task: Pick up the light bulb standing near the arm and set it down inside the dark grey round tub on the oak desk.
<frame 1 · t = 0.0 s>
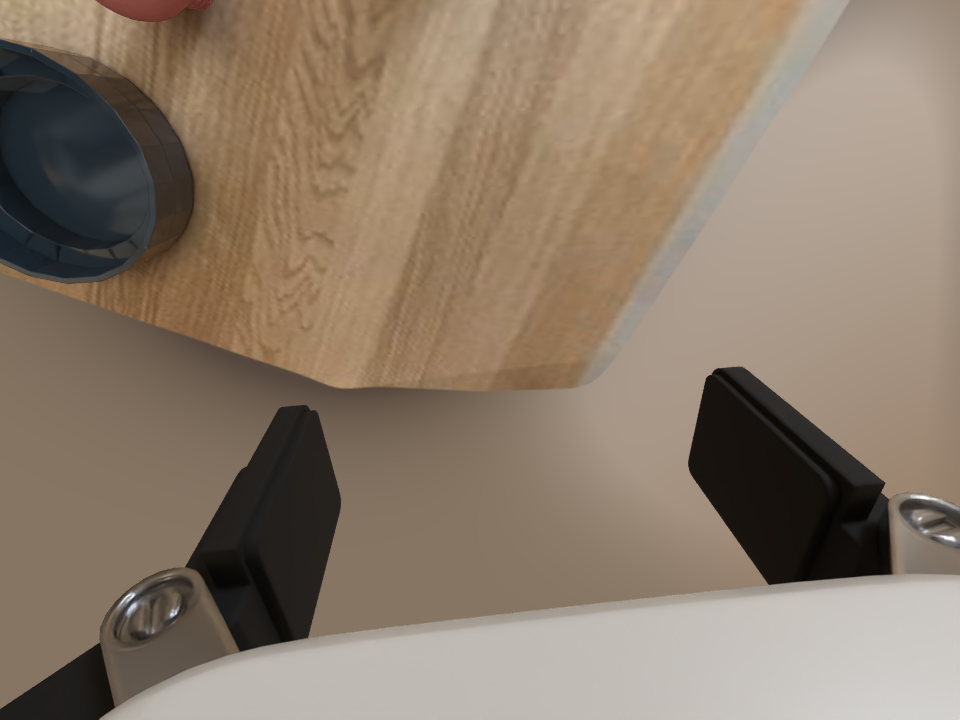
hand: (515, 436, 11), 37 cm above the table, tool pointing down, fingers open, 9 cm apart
dark grey round tub: (90, 166, 40), on the table
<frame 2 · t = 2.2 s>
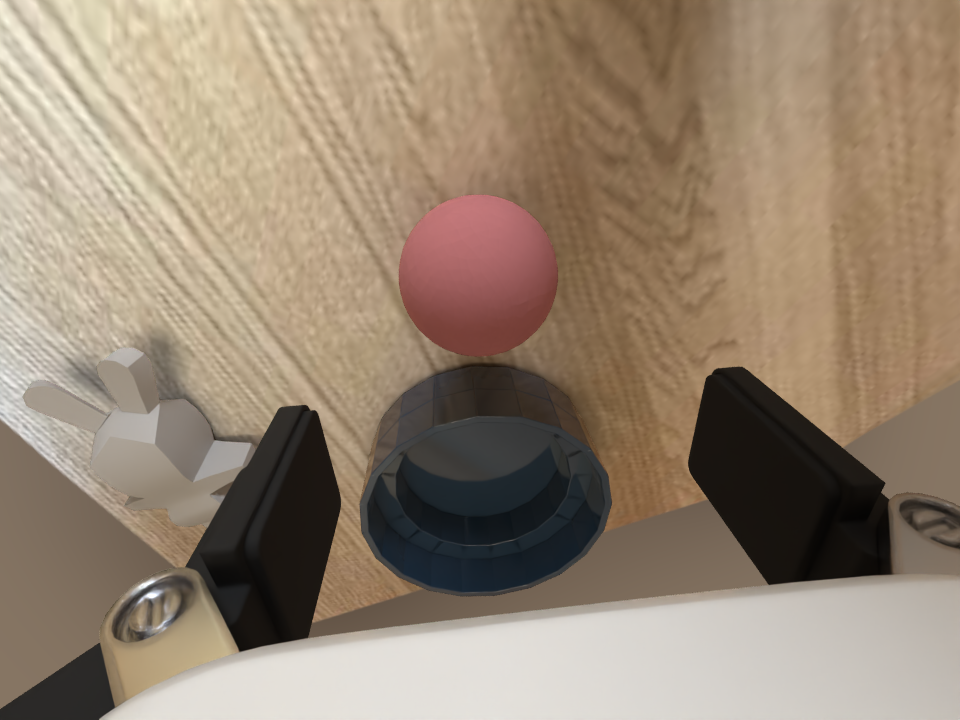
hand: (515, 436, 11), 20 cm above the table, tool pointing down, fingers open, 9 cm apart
bunny figurine: (182, 427, 33), on the table
dark grey round tub: (480, 454, 36), on the table
light bulb: (468, 232, 28), on the table
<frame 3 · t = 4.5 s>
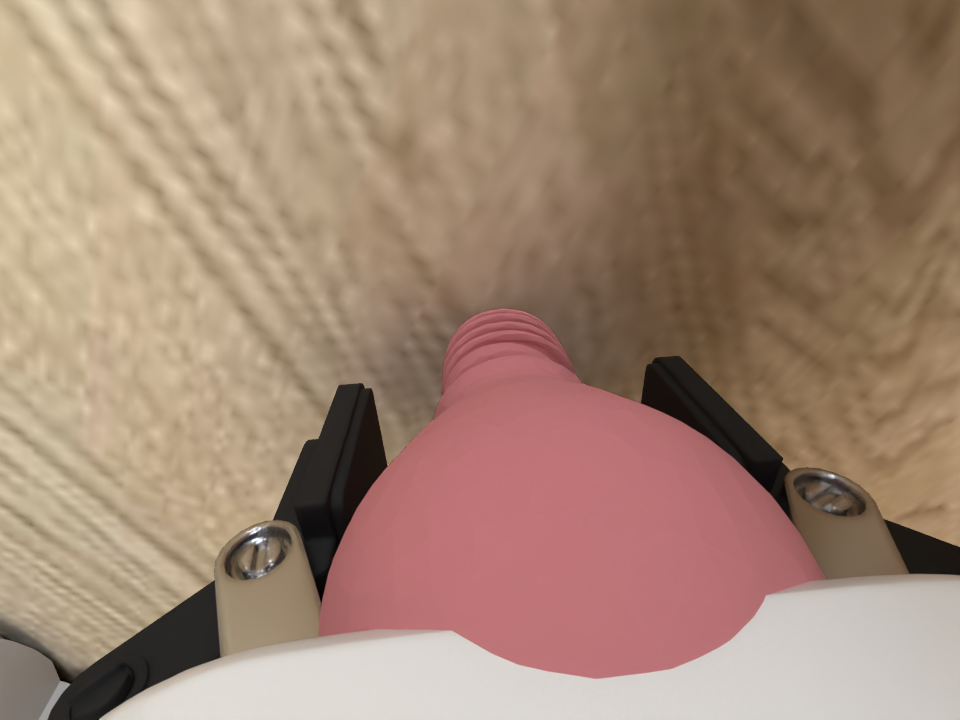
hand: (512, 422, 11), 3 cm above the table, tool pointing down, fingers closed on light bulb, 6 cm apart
bunny figurine: (6, 659, 20), on the table
light bulb: (497, 357, 14), on the table, touching gripper
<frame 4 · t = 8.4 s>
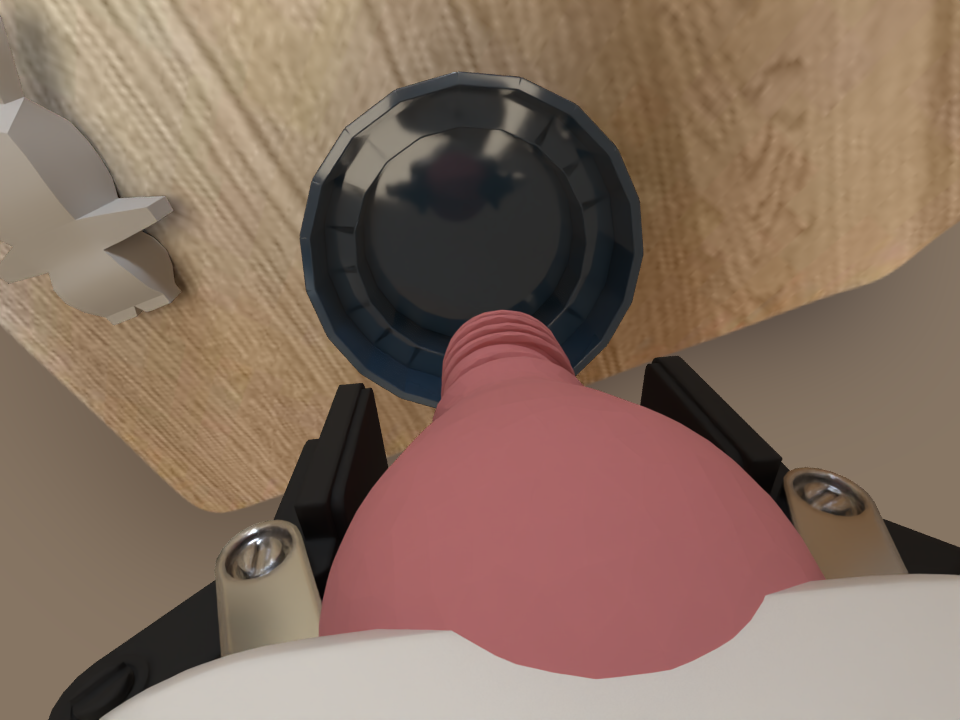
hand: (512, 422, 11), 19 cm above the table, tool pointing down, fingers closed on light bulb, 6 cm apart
bunny figurine: (76, 180, 25), on the table
dark grey round tub: (469, 241, 28), on the table
light bulb: (496, 358, 14), point 16 cm above the table, touching gripper
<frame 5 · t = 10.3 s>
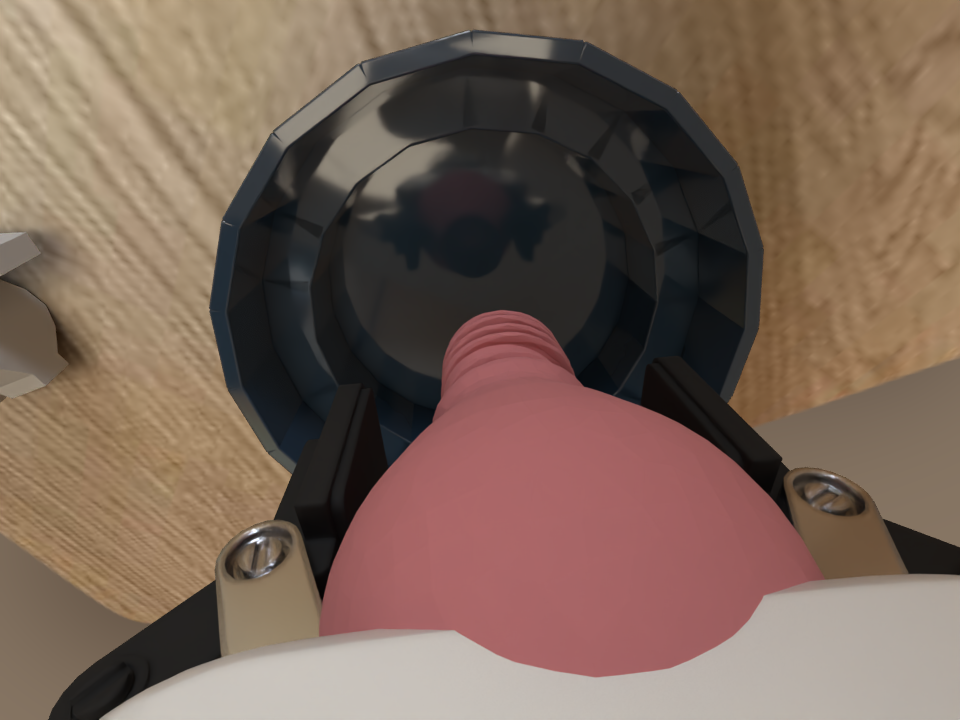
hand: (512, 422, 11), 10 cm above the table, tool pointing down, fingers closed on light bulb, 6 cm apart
dark grey round tub: (481, 289, 20), on the table
light bulb: (496, 359, 14), point 6 cm above the table, touching gripper
when the fingers open (4 cm above the table, at t = 12.3 s): light bulb stays where it is, resting on dark grey round tub.
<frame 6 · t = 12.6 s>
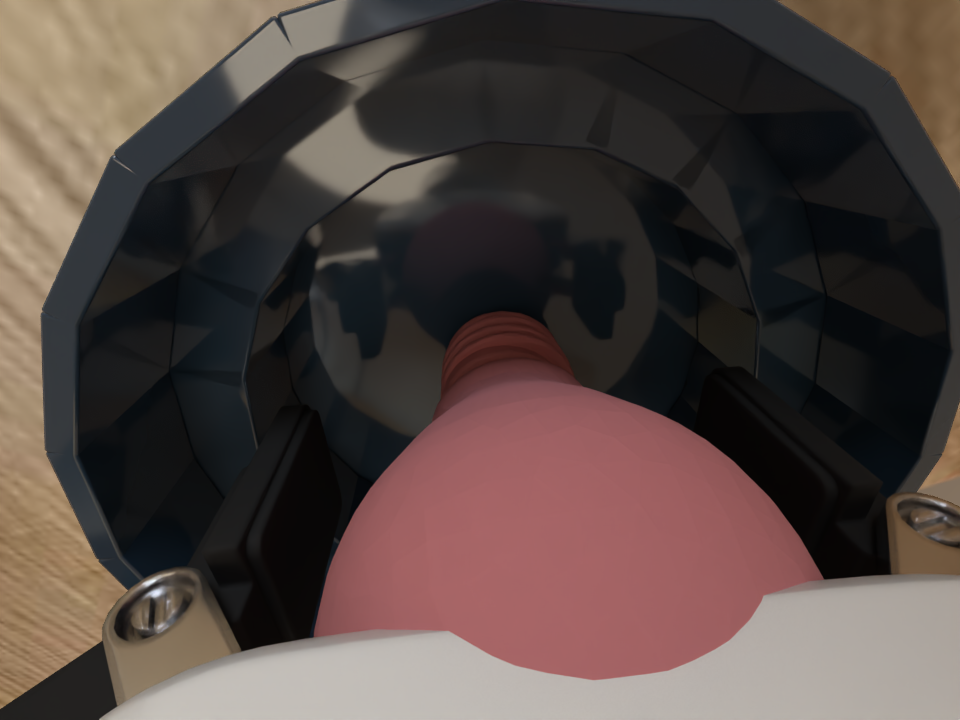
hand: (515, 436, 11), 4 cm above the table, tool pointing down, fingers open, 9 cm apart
dark grey round tub: (495, 356, 15), on the table
light bulb: (496, 360, 14), resting on dark grey round tub
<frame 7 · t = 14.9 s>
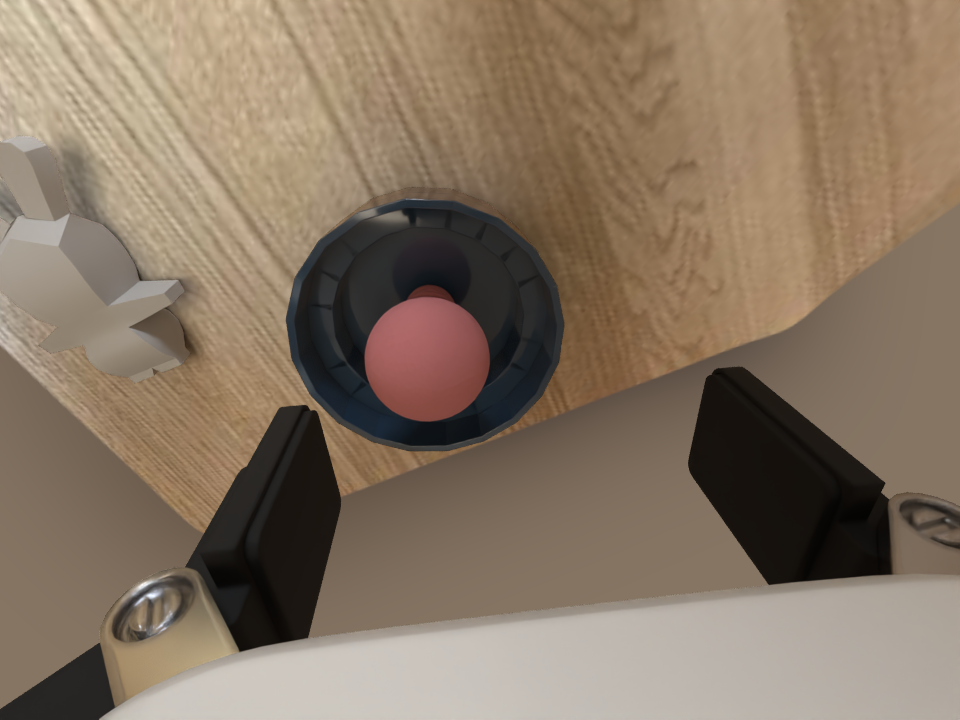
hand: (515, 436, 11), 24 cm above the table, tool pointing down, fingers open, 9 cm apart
bunny figurine: (106, 267, 31), on the table
dark grey round tub: (430, 306, 34), on the table
light bulb: (430, 307, 34), resting on dark grey round tub
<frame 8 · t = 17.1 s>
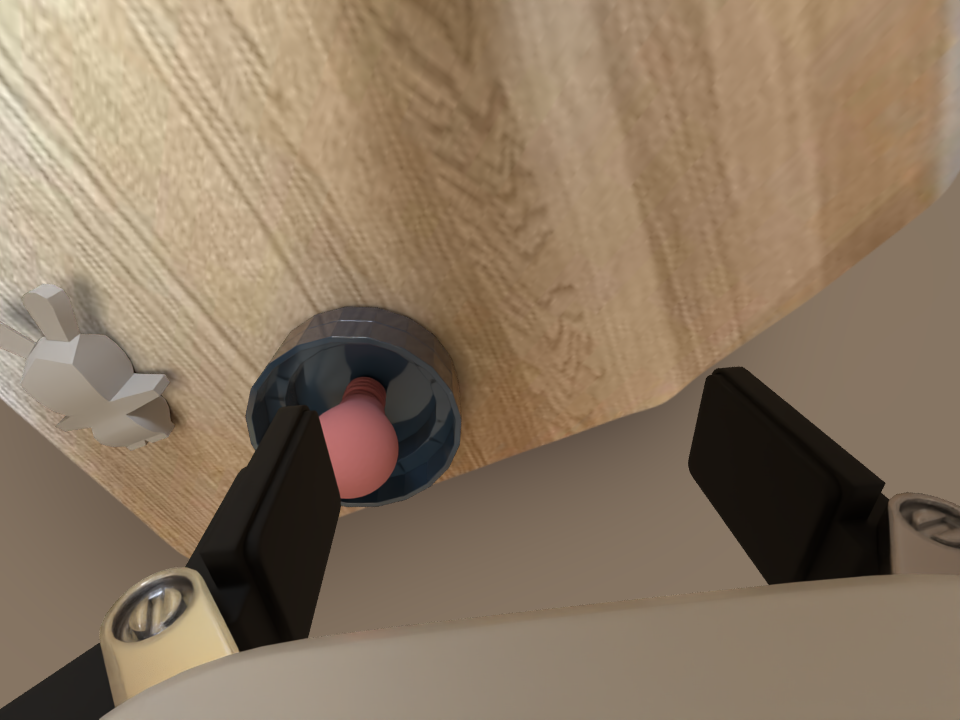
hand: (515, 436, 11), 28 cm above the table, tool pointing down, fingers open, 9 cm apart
bunny figurine: (107, 362, 39), on the table
dark grey round tub: (367, 389, 43), on the table
light bulb: (367, 390, 42), resting on dark grey round tub
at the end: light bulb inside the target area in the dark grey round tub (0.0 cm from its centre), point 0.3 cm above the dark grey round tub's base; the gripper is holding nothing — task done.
